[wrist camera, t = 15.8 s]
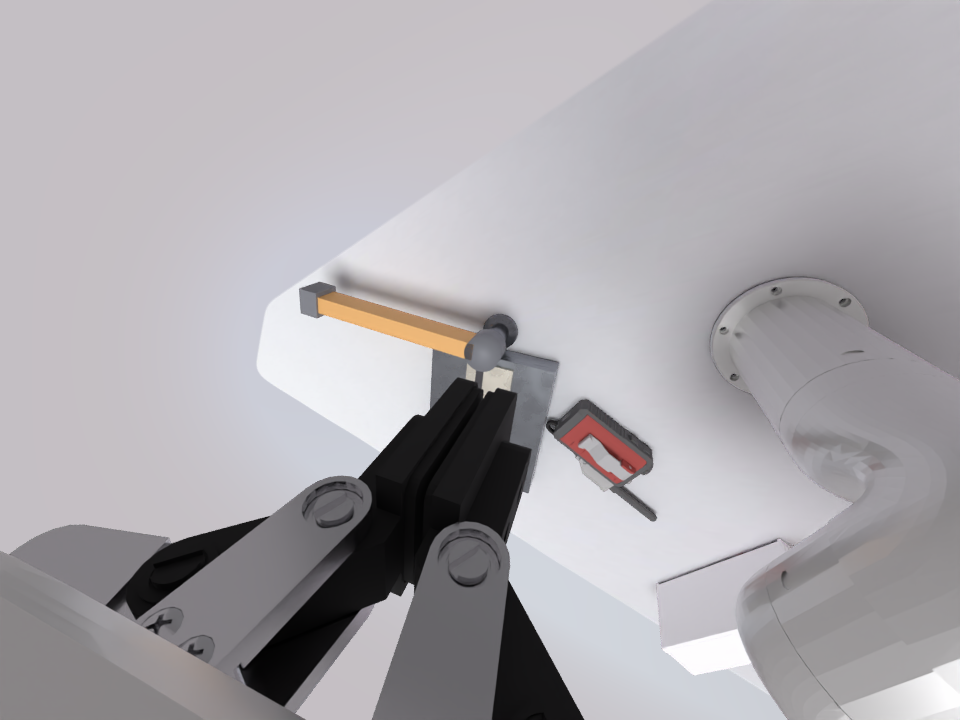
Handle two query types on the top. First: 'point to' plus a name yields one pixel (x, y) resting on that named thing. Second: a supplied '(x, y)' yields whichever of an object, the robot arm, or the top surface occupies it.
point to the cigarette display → (709, 611)
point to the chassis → (511, 374)
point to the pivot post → (503, 327)
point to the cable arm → (405, 326)
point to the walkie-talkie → (604, 450)
